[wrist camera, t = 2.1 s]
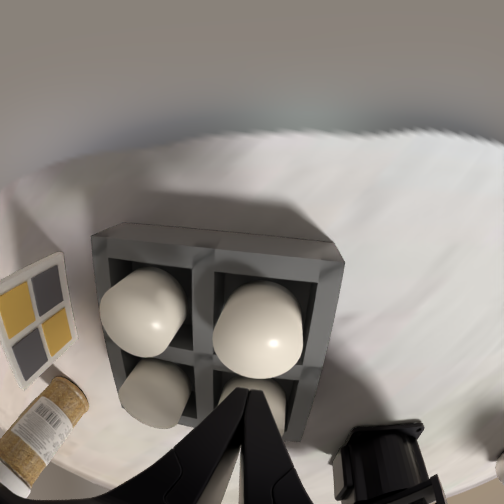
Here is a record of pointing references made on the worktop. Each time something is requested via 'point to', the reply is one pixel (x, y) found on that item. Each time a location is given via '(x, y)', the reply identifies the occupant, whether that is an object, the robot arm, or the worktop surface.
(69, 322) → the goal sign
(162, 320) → the button
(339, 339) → the worktop surface
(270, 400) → the button
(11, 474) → the sprinkles bottle
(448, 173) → the worktop surface
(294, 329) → the button
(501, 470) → the plastic bottle
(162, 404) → the button
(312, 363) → the button board
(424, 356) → the worktop surface
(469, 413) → the worktop surface
